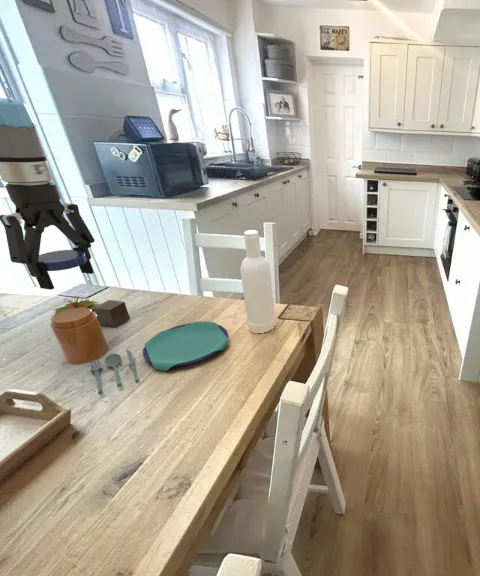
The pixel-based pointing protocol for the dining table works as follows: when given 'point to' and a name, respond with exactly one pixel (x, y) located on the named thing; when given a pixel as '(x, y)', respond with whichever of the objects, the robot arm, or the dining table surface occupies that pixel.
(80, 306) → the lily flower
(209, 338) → the cutlery set
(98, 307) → the dark brown block
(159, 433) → the dining table surface
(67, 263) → the lid
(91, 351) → the jar
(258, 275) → the bottle
